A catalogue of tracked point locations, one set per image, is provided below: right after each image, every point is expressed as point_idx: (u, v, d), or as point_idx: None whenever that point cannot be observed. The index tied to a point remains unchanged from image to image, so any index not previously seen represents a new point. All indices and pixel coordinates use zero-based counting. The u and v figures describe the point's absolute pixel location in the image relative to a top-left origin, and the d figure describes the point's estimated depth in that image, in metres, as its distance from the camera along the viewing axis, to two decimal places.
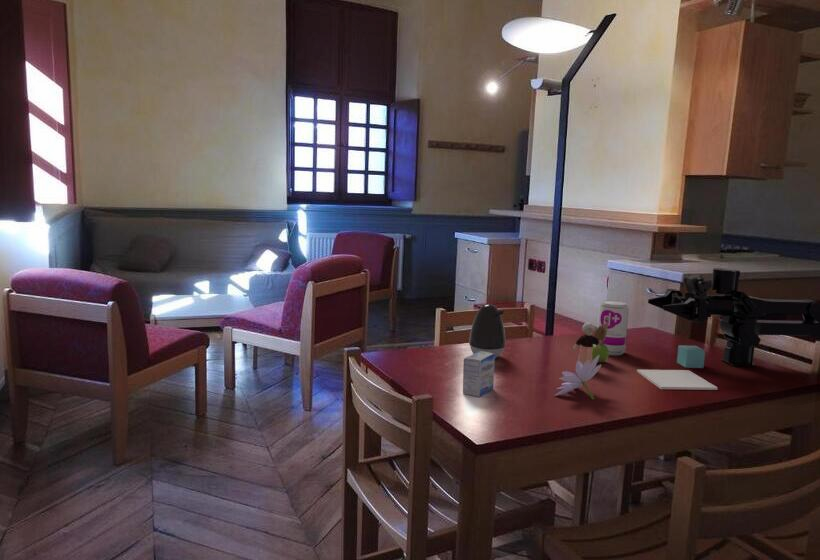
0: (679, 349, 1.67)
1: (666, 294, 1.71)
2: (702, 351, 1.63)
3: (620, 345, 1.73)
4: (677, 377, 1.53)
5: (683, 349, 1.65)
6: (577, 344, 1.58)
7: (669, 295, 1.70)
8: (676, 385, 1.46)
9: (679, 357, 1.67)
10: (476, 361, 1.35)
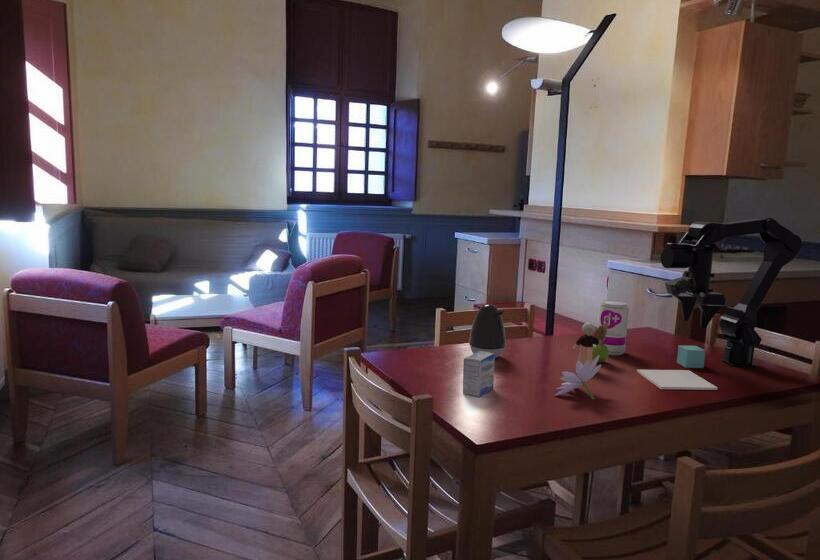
0: (679, 349, 1.67)
1: (679, 300, 1.69)
2: (702, 351, 1.63)
3: (620, 345, 1.73)
4: (677, 377, 1.53)
5: (683, 349, 1.65)
6: (577, 344, 1.58)
7: (681, 299, 1.68)
8: (676, 385, 1.46)
9: (679, 357, 1.67)
10: (476, 361, 1.35)
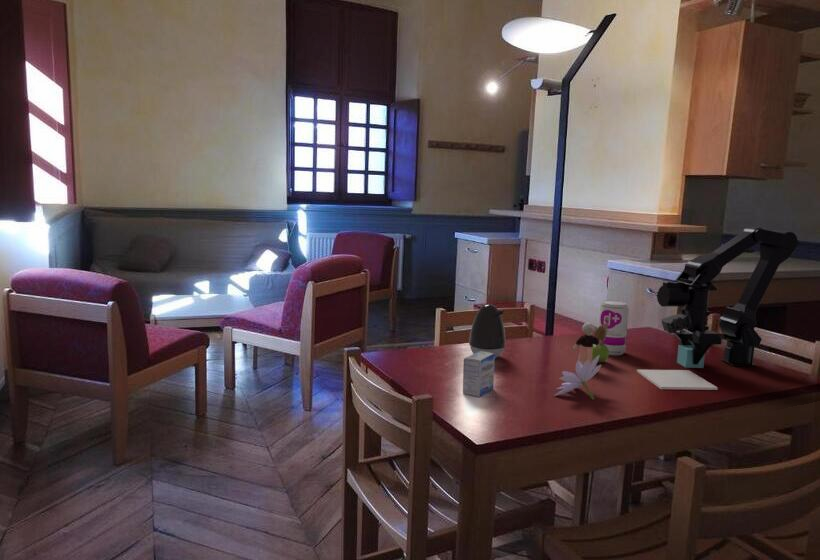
0: (679, 349, 1.67)
1: (678, 337, 1.69)
2: None
3: (620, 345, 1.73)
4: (677, 377, 1.53)
5: (683, 349, 1.65)
6: (577, 344, 1.58)
7: (680, 336, 1.68)
8: (676, 385, 1.46)
9: (679, 357, 1.67)
10: (476, 361, 1.35)
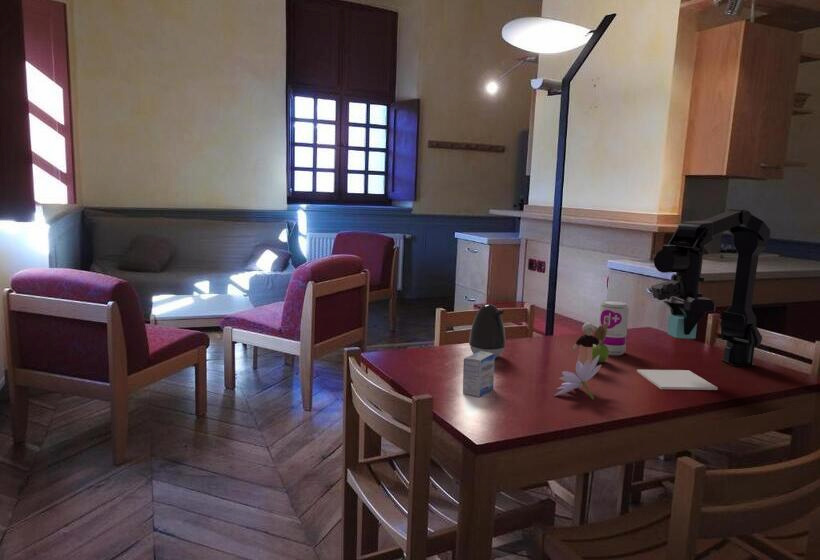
0: (670, 318, 1.55)
1: (670, 307, 1.57)
2: None
3: (620, 345, 1.73)
4: (677, 377, 1.53)
5: (674, 318, 1.53)
6: (577, 344, 1.58)
7: (672, 305, 1.56)
8: (676, 385, 1.46)
9: (670, 327, 1.55)
10: (476, 361, 1.35)
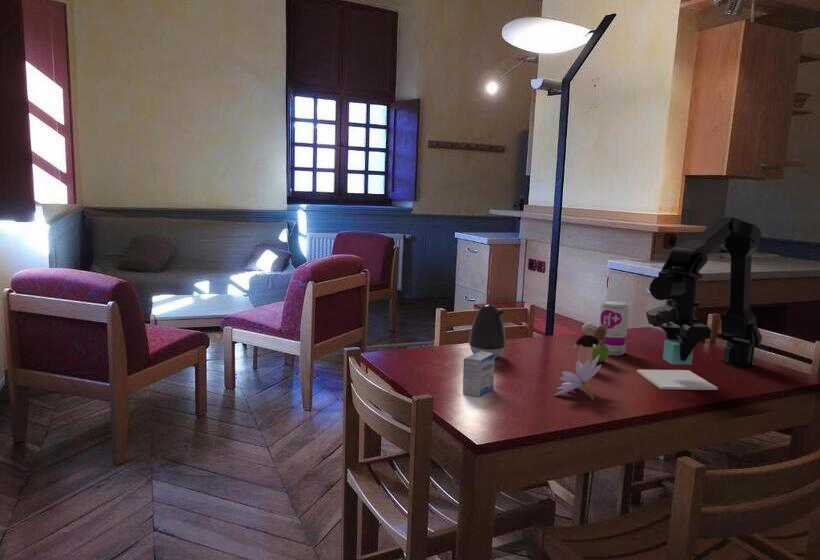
0: (665, 344, 1.52)
1: (665, 332, 1.54)
2: None
3: (620, 345, 1.73)
4: (677, 377, 1.53)
5: (669, 343, 1.50)
6: (577, 344, 1.58)
7: (667, 330, 1.53)
8: (676, 385, 1.46)
9: (666, 353, 1.52)
10: (476, 361, 1.35)
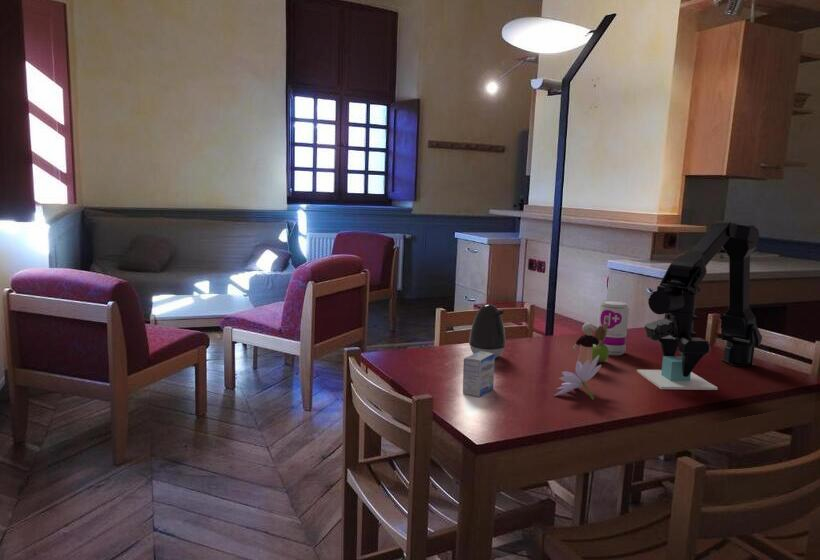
0: (664, 360, 1.53)
1: (660, 343, 1.56)
2: None
3: (620, 345, 1.73)
4: None
5: (668, 360, 1.51)
6: (577, 344, 1.58)
7: (662, 341, 1.55)
8: (676, 385, 1.46)
9: (664, 369, 1.52)
10: (476, 361, 1.35)
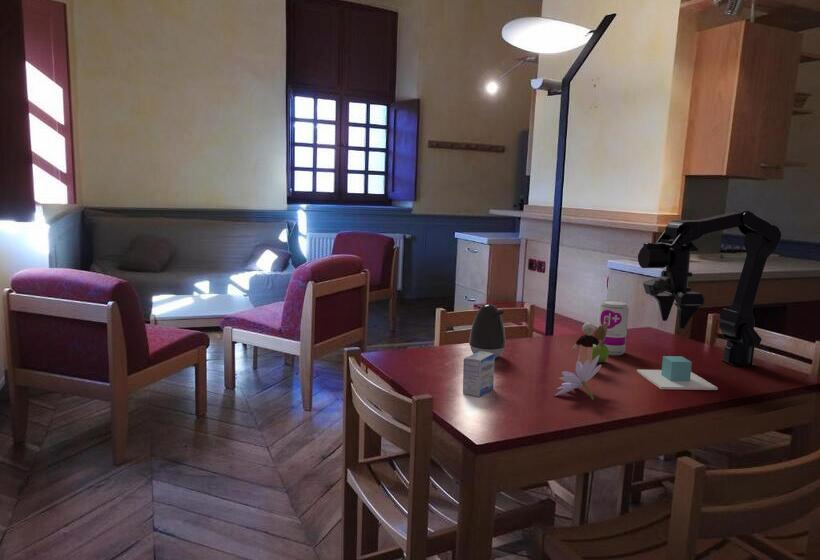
0: (664, 360, 1.53)
1: (657, 300, 1.68)
2: (688, 363, 1.49)
3: (620, 345, 1.73)
4: None
5: (668, 360, 1.51)
6: (577, 344, 1.58)
7: (659, 298, 1.67)
8: (676, 385, 1.46)
9: (664, 369, 1.52)
10: (476, 361, 1.35)
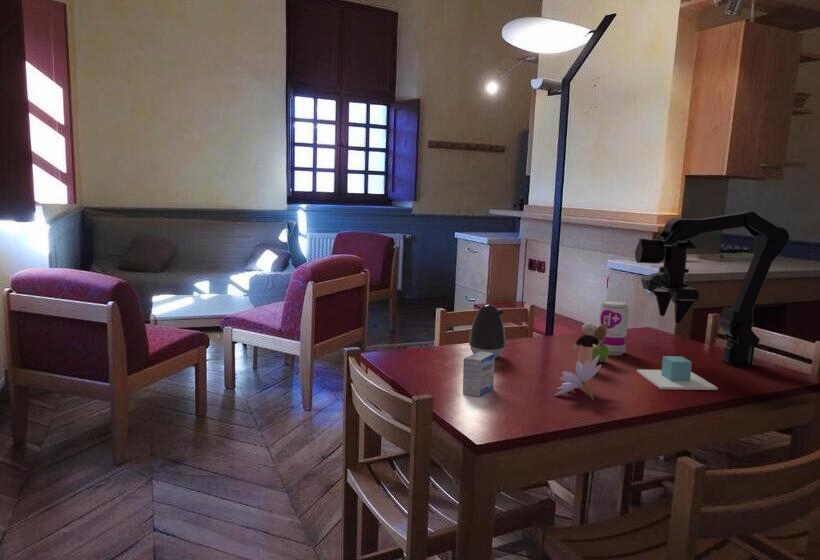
0: (664, 360, 1.53)
1: (655, 295, 1.73)
2: (688, 363, 1.49)
3: (620, 345, 1.73)
4: None
5: (668, 360, 1.51)
6: (577, 344, 1.58)
7: (657, 294, 1.72)
8: (676, 385, 1.46)
9: (664, 369, 1.52)
10: (476, 361, 1.35)
